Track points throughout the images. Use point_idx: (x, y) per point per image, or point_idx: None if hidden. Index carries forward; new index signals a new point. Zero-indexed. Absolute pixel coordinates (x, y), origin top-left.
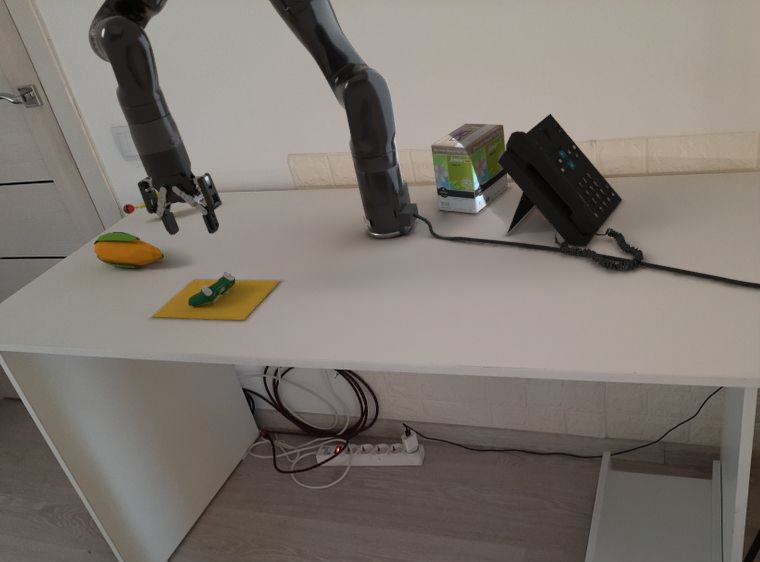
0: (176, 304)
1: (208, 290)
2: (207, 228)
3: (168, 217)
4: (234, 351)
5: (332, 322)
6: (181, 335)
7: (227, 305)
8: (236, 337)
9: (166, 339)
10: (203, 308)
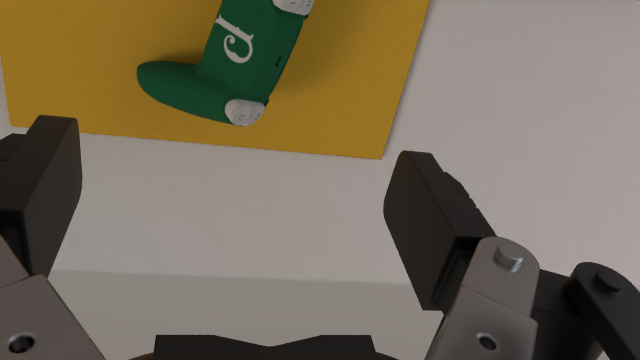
0: (57, 49)
1: (254, 115)
2: (395, 236)
3: (38, 257)
4: (393, 270)
5: (618, 173)
6: (208, 217)
7: (296, 77)
8: (381, 225)
9: (169, 233)
10: None
